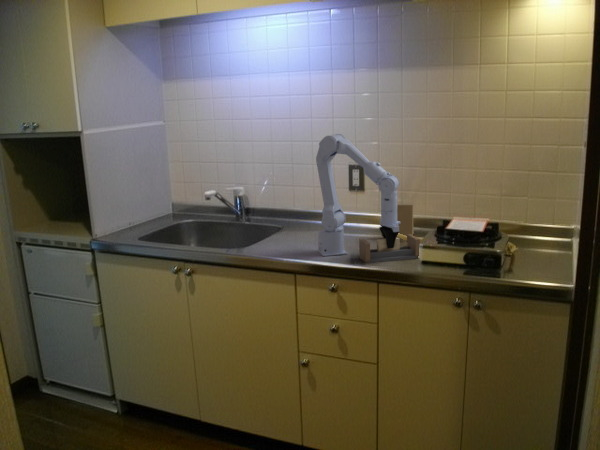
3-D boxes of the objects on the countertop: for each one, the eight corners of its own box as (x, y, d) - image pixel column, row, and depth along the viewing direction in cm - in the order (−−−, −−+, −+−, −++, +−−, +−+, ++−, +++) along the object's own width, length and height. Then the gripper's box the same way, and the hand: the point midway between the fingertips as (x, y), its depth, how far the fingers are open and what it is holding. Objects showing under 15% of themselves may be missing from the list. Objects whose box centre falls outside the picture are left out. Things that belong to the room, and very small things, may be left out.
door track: (366, 263, 200) (365, 243, 199) (359, 257, 208) (359, 238, 206) (419, 258, 204) (419, 239, 202) (411, 252, 212) (411, 234, 210)
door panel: (378, 256, 204) (378, 240, 203) (376, 255, 206) (376, 239, 205) (399, 254, 205) (399, 238, 204) (397, 253, 207) (397, 237, 206)
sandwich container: (414, 232, 242) (414, 197, 239) (412, 241, 228) (413, 204, 225) (394, 232, 244) (394, 197, 241) (391, 240, 230) (391, 204, 227)
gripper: (407, 213, 196) (407, 251, 199) (392, 205, 210) (392, 241, 213) (388, 214, 195) (388, 253, 198) (374, 207, 208) (374, 243, 211)
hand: (389, 247), depth 205 cm, fingers closed on door panel, 2 cm apart
